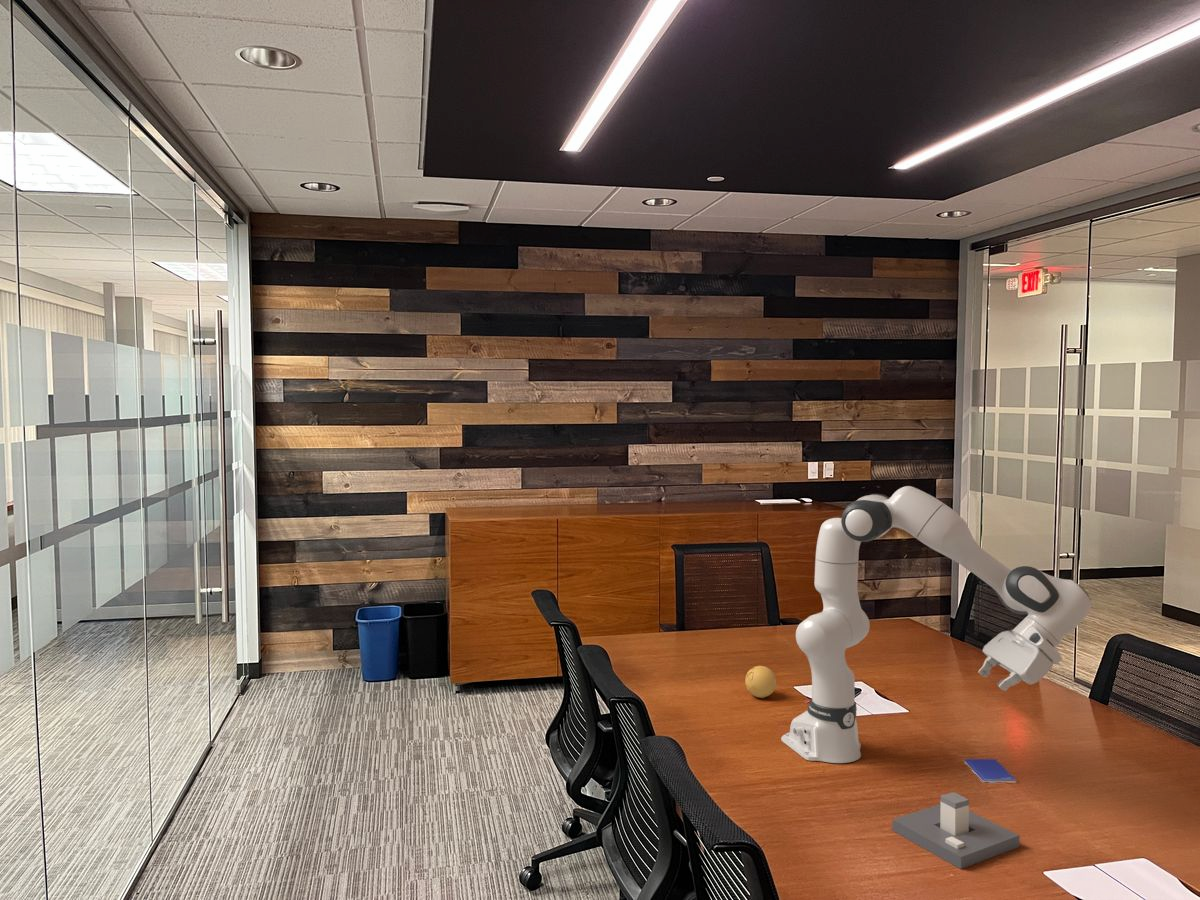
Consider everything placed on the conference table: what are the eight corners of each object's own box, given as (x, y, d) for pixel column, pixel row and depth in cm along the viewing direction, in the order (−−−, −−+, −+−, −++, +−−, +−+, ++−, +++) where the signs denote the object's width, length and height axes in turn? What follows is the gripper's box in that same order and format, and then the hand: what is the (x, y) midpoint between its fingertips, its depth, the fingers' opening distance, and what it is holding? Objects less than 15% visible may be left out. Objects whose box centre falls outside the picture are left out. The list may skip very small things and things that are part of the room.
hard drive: (1017, 779, 211) (996, 758, 223) (983, 779, 211) (964, 758, 223) (1017, 785, 211) (996, 764, 223) (983, 785, 211) (964, 764, 223)
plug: (940, 836, 186) (940, 795, 185) (953, 832, 187) (954, 792, 187) (955, 844, 182) (955, 803, 182) (968, 840, 184) (968, 799, 183)
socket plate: (892, 830, 188) (892, 815, 188) (949, 811, 197) (949, 797, 197) (960, 869, 172) (960, 853, 172) (1019, 846, 181) (1019, 831, 181)
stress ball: (779, 699, 275) (769, 672, 282) (781, 683, 268) (771, 656, 275) (749, 706, 274) (740, 679, 282) (751, 690, 268) (741, 663, 275)
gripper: (1002, 618, 209) (961, 658, 209) (1046, 642, 188) (1002, 686, 189) (1020, 636, 209) (979, 676, 209) (1066, 661, 188) (1021, 705, 189)
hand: (990, 681), depth 199 cm, fingers open, 8 cm apart
